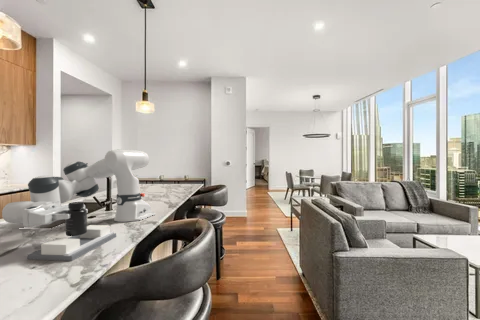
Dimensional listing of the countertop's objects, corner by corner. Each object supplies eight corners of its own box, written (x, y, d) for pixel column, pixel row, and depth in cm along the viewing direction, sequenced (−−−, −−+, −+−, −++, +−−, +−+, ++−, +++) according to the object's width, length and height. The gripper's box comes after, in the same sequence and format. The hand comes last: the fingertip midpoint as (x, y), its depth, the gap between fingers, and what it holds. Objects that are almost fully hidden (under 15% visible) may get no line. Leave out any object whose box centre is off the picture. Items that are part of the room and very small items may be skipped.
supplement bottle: (78, 230, 95) (78, 200, 95) (91, 232, 93) (91, 201, 93) (60, 235, 88) (60, 203, 88) (74, 237, 86) (74, 204, 86)
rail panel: (81, 235, 103) (81, 224, 103) (116, 236, 102) (116, 225, 102) (27, 259, 79) (27, 244, 79) (71, 260, 78) (71, 245, 78)
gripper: (67, 214, 102) (97, 215, 101) (18, 228, 82) (55, 229, 80) (67, 200, 102) (97, 200, 101) (18, 210, 81) (55, 211, 80)
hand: (78, 213), depth 90 cm, fingers closed on supplement bottle, 7 cm apart
